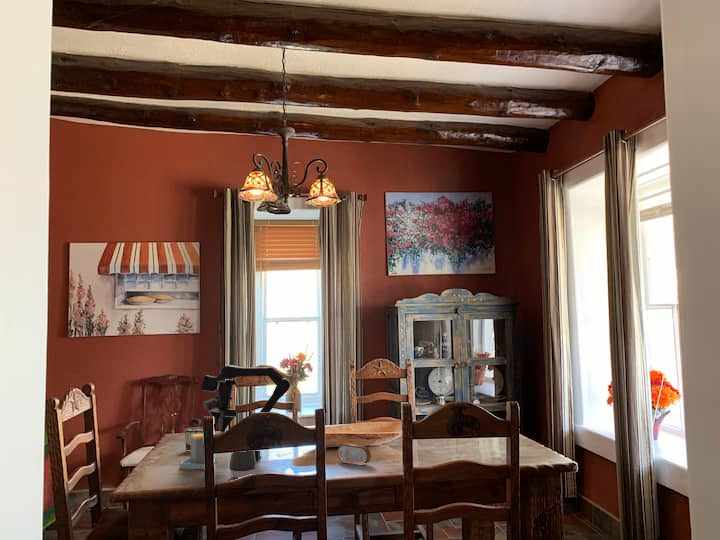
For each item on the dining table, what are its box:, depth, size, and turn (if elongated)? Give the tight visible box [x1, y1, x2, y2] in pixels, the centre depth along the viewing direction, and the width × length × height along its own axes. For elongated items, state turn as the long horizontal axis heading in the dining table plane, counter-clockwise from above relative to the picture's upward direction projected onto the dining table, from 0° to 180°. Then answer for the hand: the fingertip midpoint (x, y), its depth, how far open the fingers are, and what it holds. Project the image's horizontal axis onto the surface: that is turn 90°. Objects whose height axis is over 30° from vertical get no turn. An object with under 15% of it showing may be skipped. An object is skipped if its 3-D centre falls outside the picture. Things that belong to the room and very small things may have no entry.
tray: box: [179, 456, 217, 470], centre depth 217 cm, size 11×11×2 cm
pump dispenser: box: [229, 451, 257, 479], centre depth 203 cm, size 10×10×15 cm
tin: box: [336, 442, 372, 464], centre depth 222 cm, size 15×3×8 cm, turn 65°
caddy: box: [189, 433, 204, 464], centre depth 217 cm, size 5×5×12 cm
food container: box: [183, 426, 204, 451], centre depth 243 cm, size 12×6×10 cm, turn 84°
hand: (217, 430), depth 226 cm, fingers open, 9 cm apart
